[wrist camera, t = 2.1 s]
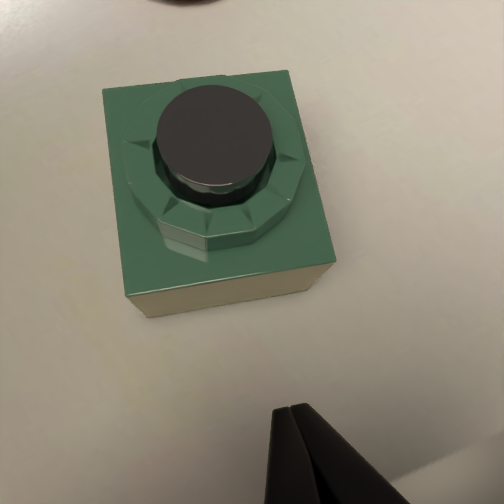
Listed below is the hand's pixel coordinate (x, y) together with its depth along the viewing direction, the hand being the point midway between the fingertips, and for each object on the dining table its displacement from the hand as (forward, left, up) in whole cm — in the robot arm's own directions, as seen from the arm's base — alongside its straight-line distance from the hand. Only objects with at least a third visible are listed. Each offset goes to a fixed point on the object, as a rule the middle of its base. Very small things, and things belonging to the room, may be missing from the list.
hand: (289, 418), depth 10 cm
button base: (+9, -4, -14) cm, 17 cm away
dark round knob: (+9, -4, -6) cm, 12 cm away
